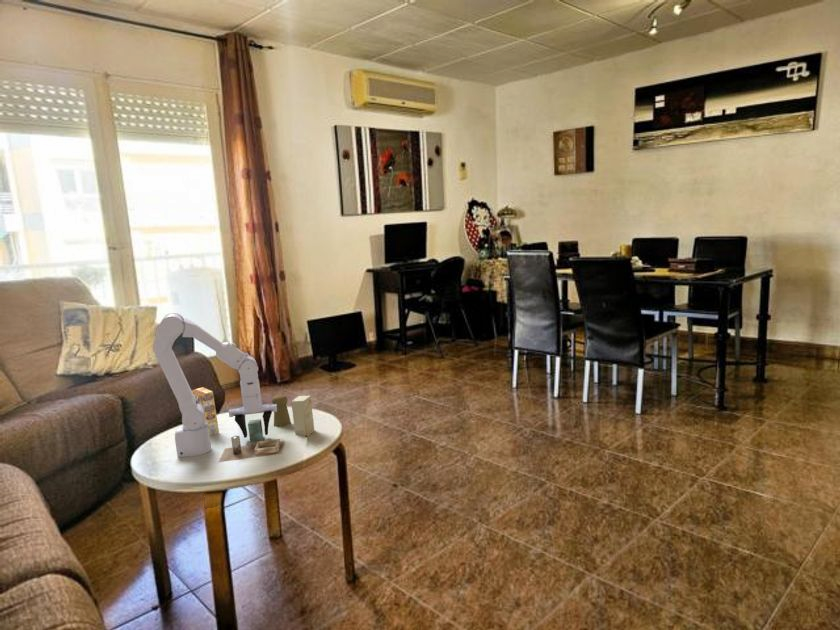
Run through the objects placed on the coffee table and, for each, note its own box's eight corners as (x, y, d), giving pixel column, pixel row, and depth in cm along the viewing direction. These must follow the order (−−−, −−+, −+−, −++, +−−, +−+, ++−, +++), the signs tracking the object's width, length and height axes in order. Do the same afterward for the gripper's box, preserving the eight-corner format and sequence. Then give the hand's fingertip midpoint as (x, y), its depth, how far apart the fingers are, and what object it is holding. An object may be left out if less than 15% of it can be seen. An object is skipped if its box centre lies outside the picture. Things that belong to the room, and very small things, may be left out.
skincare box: (307, 437, 175) (303, 401, 173) (294, 437, 176) (290, 401, 174) (314, 430, 181) (311, 395, 179) (302, 430, 182) (298, 395, 180)
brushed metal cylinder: (232, 455, 162) (230, 439, 162) (233, 451, 165) (231, 436, 164) (240, 453, 163) (238, 438, 162) (242, 450, 165) (240, 435, 164)
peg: (250, 445, 172) (247, 424, 171) (252, 441, 175) (249, 420, 174) (262, 443, 172) (259, 422, 171) (263, 439, 176) (261, 419, 175)
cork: (286, 421, 191) (282, 391, 190) (294, 425, 187) (291, 394, 185) (270, 426, 187) (266, 396, 186) (278, 430, 183) (275, 399, 181)
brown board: (219, 464, 158) (217, 456, 158) (225, 451, 168) (224, 443, 168) (282, 456, 161) (281, 448, 161) (284, 443, 171) (283, 436, 170)
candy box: (219, 434, 183) (214, 390, 181) (207, 438, 181) (201, 394, 178) (209, 428, 190) (203, 386, 187) (197, 432, 187) (191, 389, 185)
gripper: (275, 388, 176) (280, 428, 178) (229, 393, 174) (234, 433, 176) (273, 394, 169) (278, 435, 172) (225, 400, 167) (231, 441, 169)
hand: (256, 435), depth 173 cm, fingers open, 6 cm apart
